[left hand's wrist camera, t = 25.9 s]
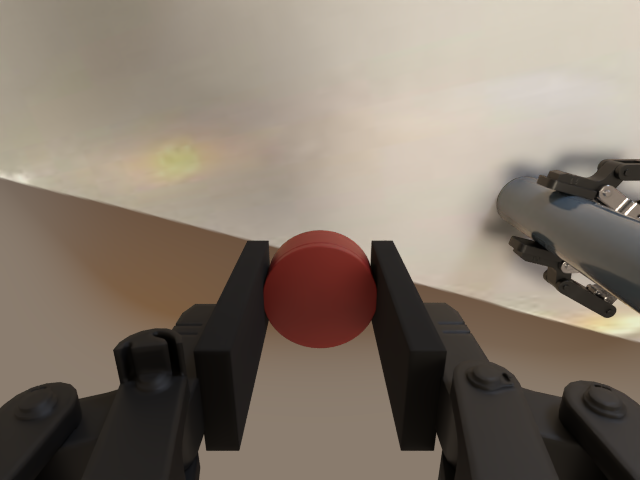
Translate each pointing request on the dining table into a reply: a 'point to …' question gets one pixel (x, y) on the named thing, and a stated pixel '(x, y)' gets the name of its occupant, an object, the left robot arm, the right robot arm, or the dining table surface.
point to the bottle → (578, 234)
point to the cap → (320, 290)
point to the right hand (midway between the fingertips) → (529, 213)
